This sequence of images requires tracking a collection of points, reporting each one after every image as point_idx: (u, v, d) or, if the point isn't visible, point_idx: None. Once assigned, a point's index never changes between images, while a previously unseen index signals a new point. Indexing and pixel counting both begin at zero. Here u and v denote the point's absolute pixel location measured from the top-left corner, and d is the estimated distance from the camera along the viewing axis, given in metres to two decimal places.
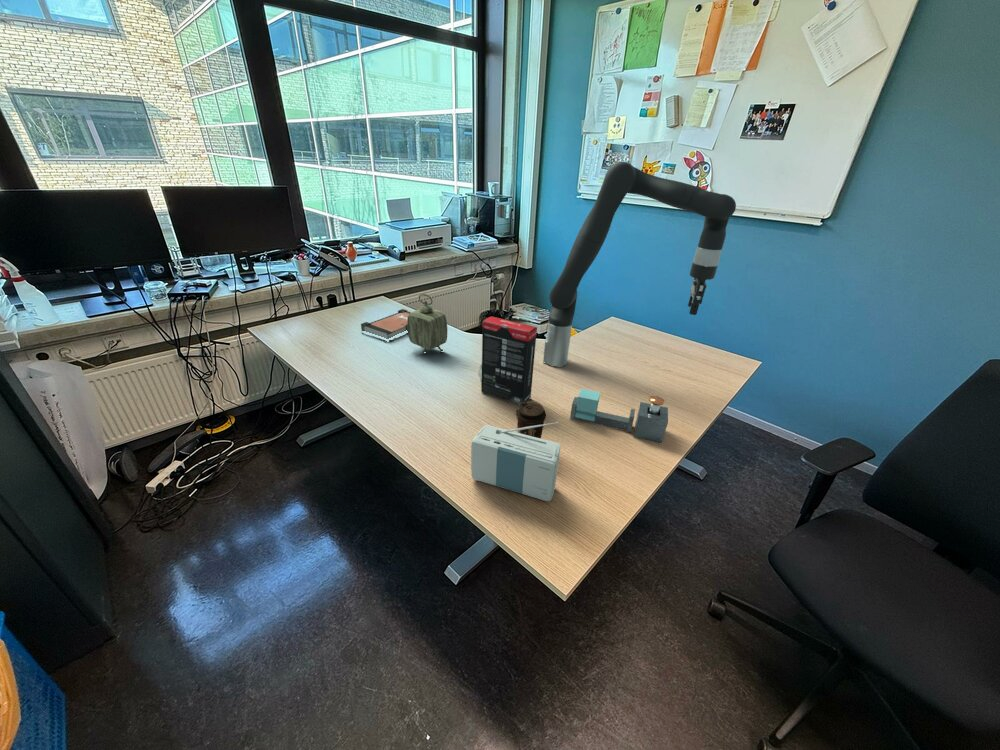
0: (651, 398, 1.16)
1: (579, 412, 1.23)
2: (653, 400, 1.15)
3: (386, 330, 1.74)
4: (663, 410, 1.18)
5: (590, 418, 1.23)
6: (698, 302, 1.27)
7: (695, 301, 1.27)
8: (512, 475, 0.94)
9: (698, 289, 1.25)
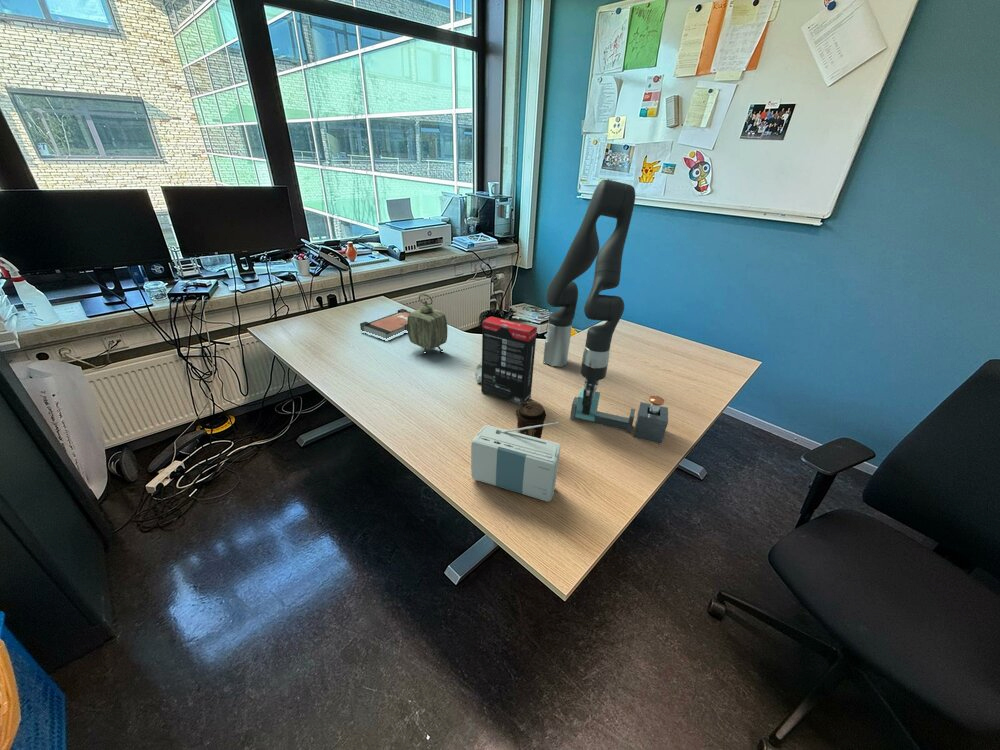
0: (651, 398, 1.16)
1: (579, 412, 1.23)
2: (653, 400, 1.15)
3: (385, 330, 1.75)
4: (663, 410, 1.18)
5: (590, 418, 1.23)
6: (587, 404, 1.18)
7: (584, 403, 1.18)
8: (512, 475, 0.94)
9: (585, 394, 1.15)
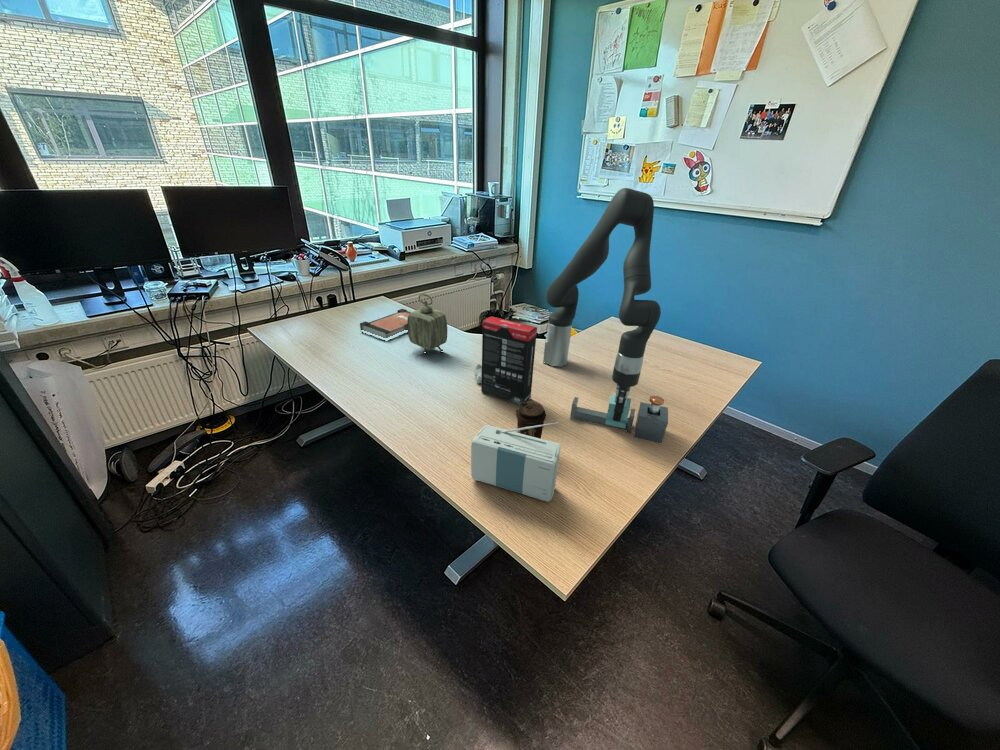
0: (651, 398, 1.16)
1: (609, 419, 1.21)
2: (653, 400, 1.15)
3: (384, 330, 1.75)
4: (663, 410, 1.18)
5: (621, 425, 1.20)
6: (619, 411, 1.15)
7: (616, 410, 1.15)
8: (511, 475, 0.94)
9: (618, 401, 1.13)
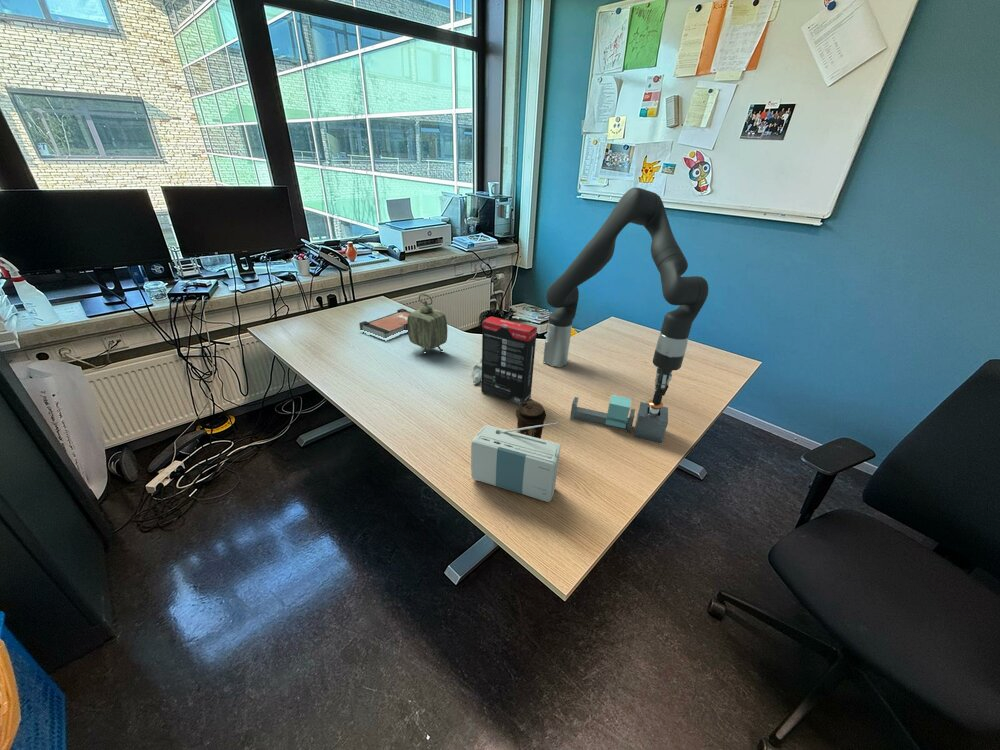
0: (650, 402, 1.16)
1: (610, 419, 1.21)
2: (652, 404, 1.15)
3: (384, 330, 1.75)
4: (663, 410, 1.18)
5: (621, 425, 1.20)
6: (661, 394, 1.11)
7: (657, 392, 1.11)
8: (511, 475, 0.94)
9: (659, 388, 1.08)
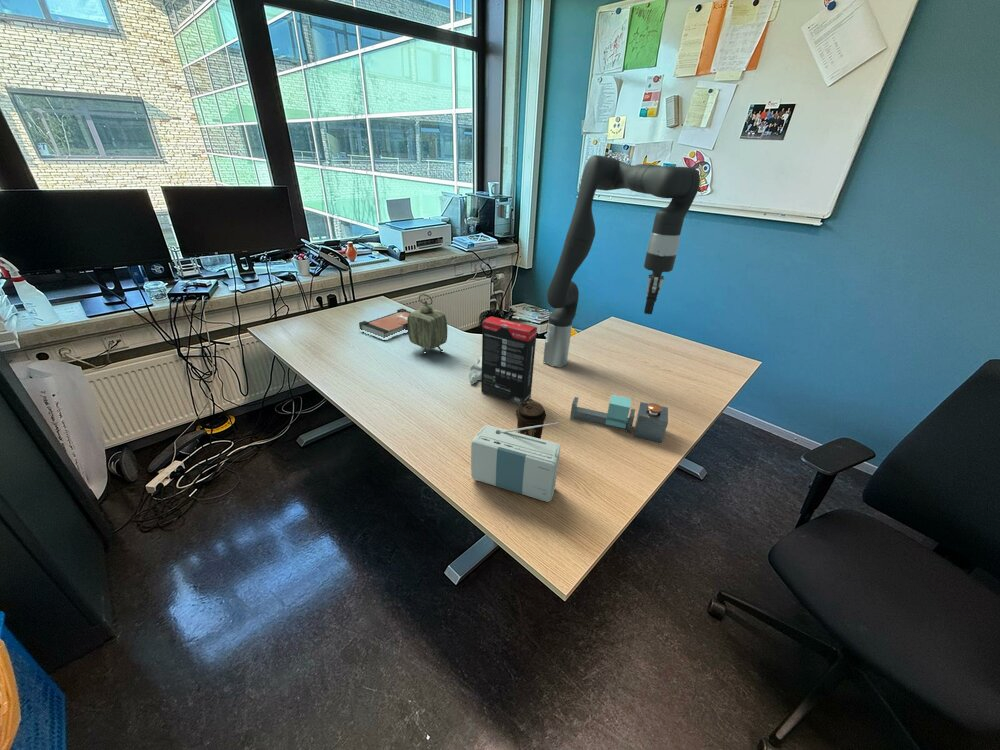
0: (649, 406, 1.17)
1: (610, 419, 1.21)
2: (651, 408, 1.16)
3: (383, 329, 1.75)
4: (663, 410, 1.18)
5: (621, 425, 1.20)
6: (652, 299, 1.08)
7: (649, 298, 1.08)
8: (511, 475, 0.94)
9: (650, 291, 1.05)
